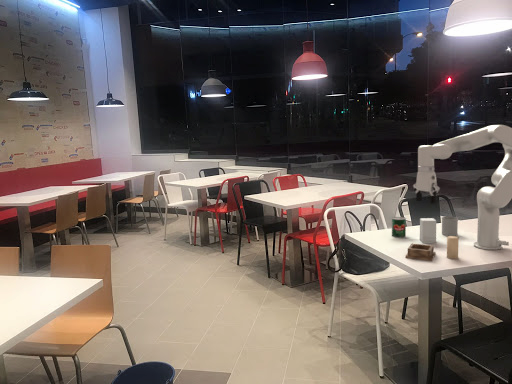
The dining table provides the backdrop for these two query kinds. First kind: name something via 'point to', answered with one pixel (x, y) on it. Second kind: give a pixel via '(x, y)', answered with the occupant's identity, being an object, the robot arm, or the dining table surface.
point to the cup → (449, 226)
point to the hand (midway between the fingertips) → (425, 202)
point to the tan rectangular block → (452, 247)
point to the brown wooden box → (421, 252)
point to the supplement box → (428, 230)
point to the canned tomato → (398, 227)
